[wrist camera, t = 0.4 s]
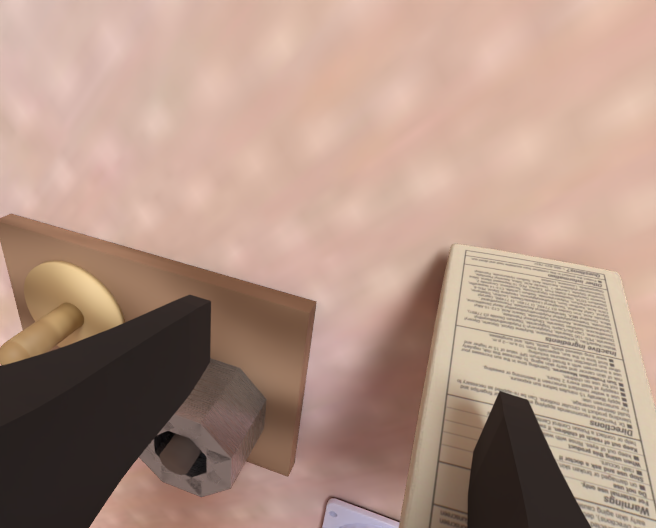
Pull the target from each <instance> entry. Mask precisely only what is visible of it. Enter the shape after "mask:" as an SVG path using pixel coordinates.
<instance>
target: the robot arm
mask: <svg viewBox="0 0 656 528" xmlns="http://www.w3.org/2000/svg"><path fill="white" fill-rule="evenodd" d="M210 344H211V301H209V300H206V299H203V298H200V297H197V296H193V295H187V296H185V297H182V298H180V299H177V300H175V301H173V302H170V303H168V304H166V305H164V306H161V307H159V308H157V309H155V310H152V311H150V312H148V313H146V314H143V315H141V316H139V317H136V318H134V319H132V320H130V321H127V322H125V323H123V324H120V325H118V326H116V327H113V328H111V329H108V330H106V331H103V332H101V333H98V334H96V335H93V336H90V337H88V338H85V339H83V340H80V341H78V342H75V343H72V344H70V345H67V346H64V347H61V348H58V349H55V350H52V351H49V352H46V353H43V354H40V355H37V356H33V357H30V358H27V359H24V360H20V361H17V362H13V363H9V364H5V365H1V366H0V528H89V527H90V525H91V524H92V522H93V521H94V519H95V518H96V516H97V515H98V513H99V512H100V510H101V509H102V507H103V506H104V504H105V503H106V501H107V500H108V498H109V497H110V495H111V494H112V492H113V491H114V489H115V488H116V486H117V485H118V483H119V482H120V481H121V479H122V478H123V477H124V475H125V474H126V473H127V471H128V470H129V469H130V467H131V466H132V465H133V463H134V462H135V461H136V460H137V459H138V457H139V456H140V455H141V454H142V453H143V451H144V450H145V449H146V448H147V447H148V445H149V444H150V443H151V442H152V440H153V439H154V438H155V437H156V436H157V434H158V433H159V432H160V431H161V430H162V428H163V427H164V426H165V425H166V424H167V422H168V421H169V420H170V419H171V417H172V416H173V415H174V414H175V413H176V411H177V410H178V409H179V408H180V406H181V405H182V404H183V403H184V401H185V400H186V399H187V398H188V396H189V395H190V394H191V392H192V391H193V389H194V387H195V386H196V384H197V383H198V381H199V380H200V378H201V376H202V375H203V373H204V371H205V370H206V368H207V366H208V365H209V363H210ZM399 523H400V522H397V521H394V520H392V519H389V518H386V517H384V516H381V515H378V514H376V513H373V512H370V511H368V510H365V509H362V508H360V507H357V506H354V505H352V504H349V503H346V502H344V501H341V500H338V499H335V498H333V499H329V501H328V503H327V506H326V511H325V516H324V521H323V526H322V528H399ZM467 528H591V526H590V524H589V522H588V521H587V519H586V517H585V515H584V514H583V512H582V510H581V508H580V506H579V505H578V503H577V501H576V499H575V497H574V495H573V493H572V491H571V490H570V488H569V486H568V484H567V482H566V480H565V478H564V476H563V474H562V472H561V470H560V468H559V466H558V464H557V462H556V460H555V458H554V456H553V454H552V451H551V449H550V447H549V445H548V443H547V441H546V439H545V436H544V434H543V432H542V430H541V427H540V425H539V423H538V421H537V418H536V416H535V414H534V412H533V409H532V407H531V405H530V403H529V401H528V400H527V399H524V398H521V397H518V396H515V395H511V394H508V393H505V392H502V391H499V393H498V396H497V398H496V400H495V403H494V405H493V407H492V409H491V412H490V414H489V416H488V419H487V421H486V423H485V426H484V428H483V430H482V432H481V435H480V437H479V439H478V442H477V444H476V446H475V448H474V451H473V457H472V465H471V472H470V480H469V489H468V522H467Z"/></svg>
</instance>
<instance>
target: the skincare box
mask: <svg viewBox="0 0 656 528" xmlns="http://www.w3.org/2000/svg"><path fill="white" fill-rule="evenodd" d="M499 391H502V392H505V393H508V394H511V395H515V396H518V397H521V398H524V399H527V400H528V401H529V403H530V405H531V407H532V409H533V412H534V414H535V416H536V418H537V421H538V423H539V425H540V427H541V430H542V432H543V434H544V436H545V439H546V441H547V443H548V445H549V447H550V449H551V451H552V454H553V456H554V458H555V460H556V462H557V464H558V466H559V468H560V470H561V472H562V474H563V476H564V478H565V480H566V482H567V484H568V486H569V488H570V490H571V491H572V493H573V495H574V497H575V499H576V501H577V503H578V505H579V506H580V508H581V510H582V512H583V514H584V515H585V517H586V519H587V521H588V522H589V524H590V526H591V528H656V409H655V405H654V401H653V397H652V393H651V390H650V386H649V383H648V379H647V375H646V371H645V367H644V363H643V359H642V356H641V352H640V348H639V344H638V340H637V337H636V333H635V329H634V326H633V322H632V318H631V315H630V311H629V307H628V303H627V299H626V296H625V292H624V288H623V284H622V280H621V277H620V275H619V274H618V273H617V272H614V271H610V270H604V269H600V268H594V267H589V266H584V265H579V264H574V263H568V262H563V261H557V260H552V259H546V258H540V257H534V256H528V255H523V254H518V253H513V252H507V251H500V250H496V249H489V248H482V247H475V246H468V245H462V244H453V245H452V246H451V249H450V252H449V257H448V261H447V265H446V269H445V274H444V279H443V284H442V288H441V294H440V299H439V305H438V310H437V315H436V320H435V326H434V331H433V336H432V342H431V348H430V354H429V359H428V365H427V371H426V376H425V382H424V387H423V392H422V398H421V403H420V409H419V414H418V420H417V426H416V431H415V437H414V443H413V449H412V454H411V460H410V466H409V472H408V477H407V483H406V489H405V495H404V500H403V506H402V512H401V518H400V523H399V528H467V522H468V489H469V480H470V472H471V465H472V457H473V451H474V448H475V446H476V444H477V442H478V439H479V437H480V435H481V432H482V430H483V428H484V426H485V423H486V421H487V419H488V416H489V414H490V412H491V409H492V407H493V405H494V403H495V400H496V398H497V396H498V393H499Z"/></svg>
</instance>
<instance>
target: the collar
mask: <svg viewBox="0 0 656 528" xmlns="http://www.w3.org/2000/svg"><path fill="white" fill-rule="evenodd" d="M266 400H267V399H266V398H265V397H264V396H263V394H262V393H261V392H260V391H259V390H258V389H257V387H256V386H255V385H254V384H253V383H252V381H251V380H250V379H249V378H248V377H247V375H246V374H245V373H244V372H243V371H242V370H241V368H239V367H236V366H233V365H230V364H227V363H224V362H221V361H218V360H215V359H212V358H210V363H209V365H208V366H207V368H206V370H205V371H204V373H203V375H202V376H201V378H200V380H199V381H198V383H197V384H196V386H195V387H194V389H193V391H192V392H191V394H190V395H189V396H188V398H187V399H186V400H185V401H184V403H183V404H182V405H181V406H180V408H179V409H178V410H177V411H176V413H175V414H174V415H173V416H172V417H171V419H170V420H169V421H168V422H167V424H166V425H165V426H164V427H163V428H162V430H161V431H160V432H159V433H158V434H157V436H156V437H155V438H154V439H153V440H152V442H151V443H150V444H149V445H148V447H147V448H146V449H145V450H144V451H143V453H142V454H141V455H140V456H139V458H140V459H141V460H142V461H143V462H144V463H145V464H146V465H147V466H148V467H149V468H150V469H151V470H152V471H153V472H154V473H155V474H156V475H157V476H158V478H159V479H160V480H161V481H162V482H164V483H167V484H170V485H172V486H175V487H177V488H180V489H182V490H185V491H187V492H190V493H192V494H195V495H197V496H200V497H204V496H207V495H211V494H214V493H217V492H221V491H224V490H228V489H231V487H232V485H233V483H234V482H235V480H236V478H237V476H238V474H239V473H240V471H241V469H242V467H243V466H244V464H245V462H246V460H247V458H248V457H249V455H250V453H251V451H252V449H253V448H254V446H255V444H256V442H257V440H258V439H259V437H260V435H261V433H262V431H263V430H264V424H265V412H266ZM175 434H178V435H181V436H184V437H187V438H189V439H191V440H192V441H193V442H194V443H195V445H196V446H197V447H198V448H199V449H200V450H201V451H202V452H201V454H200V455H199V457H198V458H197V460H196V461H195V463H194V464H193V466H192V467H191V469H190V470H189V472H188V473H187V474H185V475H178V474H175V473H173V472H171V471H169V470H168V469H167V468H166V467H165V466H164V465H163V464H162V462H161V461H160V453H161V452H162V451H163V450H164V448H165V447H166V446H167V444H168V443H169V442H170V440H171V439H172V438H173V436H174V435H175Z"/></svg>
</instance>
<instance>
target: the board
mask: <svg viewBox="0 0 656 528" xmlns="http://www.w3.org/2000/svg"><path fill="white" fill-rule="evenodd" d="M0 242H1V246H2V249H3V253H4V257H5V261H6V265H7V269H8V273H9V277H10V281H11V285H12V289H13V293H14V297H15V301H16V305H17V309H18V313H19V317H20V321H21V325H22V329H23V331H21V332H20V333H18V334H17V335H16V336H14V337H13V338H11V339H10V340H8V341H7V342H5V343H4V344H3V345H2V346H1V348H0V364H1V365H5V364H9V363H13V362H17V361H20V360H24V359H27V358H30V357H33V356H37V355H40V354H43V353H46V352H49V351H52V350H55V349H58V348H61V347H64V346H67V345H70V344H72V343H75V342H78V341H80V340H83V339H85V338H88V337H90V336H93V335H96V334H98V333H101V332H103V331H106V330H108V329H111V328H113V327H116V326H118V325H120V324H123V323H125V322H127V321H130V320H132V319H134V318H136V317H139V316H141V315H143V314H146V313H148V312H150V311H152V310H155V309H157V308H159V307H161V306H164V305H166V304H168V303H170V302H173V301H175V300H177V299H180V298H182V297H185V296H187V295H193V296H197V297H200V298H203V299H206V300H209V301H211V344H210V358H212V359H215V360H218V361H221V362H224V363H227V364H230V365H233V366H236V367H239V368H241V370H242V371H243V372H244V373H245V374H246V375H247V377H248V378H249V379H250V380H251V381H252V383H253V384H254V385H255V386H256V387H257V389H258V390H259V391H260V392H261V393H262V394H263V396H264V397H265V398H266V399H267V400H266V412H265V424H264V430H263V431H262V433H261V435H260V437H259V439H258V440H257V442H256V444H255V446H254V448H253V449H252V451H251V453H250V455H249V457H248V458H247V460H246V461H247V462H250V463H252V464H255V465H258V466H261V467H263V468H266V469H269V470H271V471H274V472H277V473H279V474H282V475H285V476H287V477H288V476H289V474H290V472H291V470H292V467H293V465H294V462H295V455H296V448H297V440H298V433H299V426H300V418H301V411H302V404H303V397H304V389H305V382H306V375H307V367H308V360H309V353H310V345H311V338H312V331H313V323H314V316H315V309H316V302H315V301H312V300H309V299H305V298H302V297H298V296H295V295H291V294H288V293H284V292H281V291H277V290H274V289H270V288H267V287H263V286H260V285H257V284H253V283H250V282H246V281H243V280H239V279H236V278H232V277H229V276H225V275H222V274H218V273H215V272H211V271H208V270H204V269H201V268H198V267H194V266H191V265H187V264H184V263H180V262H177V261H173V260H170V259H166V258H163V257H159V256H156V255H152V254H149V253H146V252H142V251H139V250H135V249H132V248H128V247H125V246H121V245H118V244H114V243H111V242H107V241H104V240H100V239H97V238H94V237H90V236H87V235H83V234H80V233H76V232H73V231H69V230H66V229H62V228H59V227H55V226H52V225H48V224H45V223H41V222H38V221H35V220H31V219H28V218H24V217H21V216H17V215H14V214H9V215H7V216H5V217H2V218H0ZM201 452H202V451H201V450H200V449H199V448H198V447H197V446H196V445H195V443H194V442H193V441H192V440H191V439H189V438H187V437H184V436H181V435H178V434H175V435H174V436H173V438H172V439H171V440H170V442H169V443H168V444H167V446H166V447H165V448H164V450H163V451H162V452H161V453H160V461H161V462H162V464H163V465H164V466H165V467H166V468H167V469H168V470H169V471H171V472H173V473H175V474H178V475H185V474H187V473H188V472H189V470H190V469H191V467H192V466H193V464H194V463H195V461H196V460H197V458H198V457H199V455H200V454H201Z"/></svg>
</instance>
